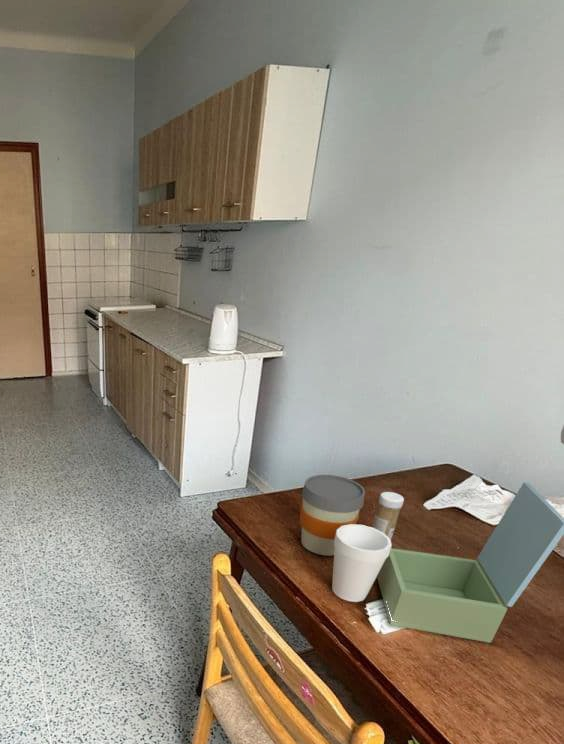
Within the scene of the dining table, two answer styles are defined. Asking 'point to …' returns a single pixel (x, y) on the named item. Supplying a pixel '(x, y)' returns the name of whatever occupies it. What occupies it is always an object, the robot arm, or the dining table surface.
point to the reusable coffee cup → (328, 510)
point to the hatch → (521, 543)
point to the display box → (440, 595)
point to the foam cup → (358, 560)
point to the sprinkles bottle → (387, 512)
